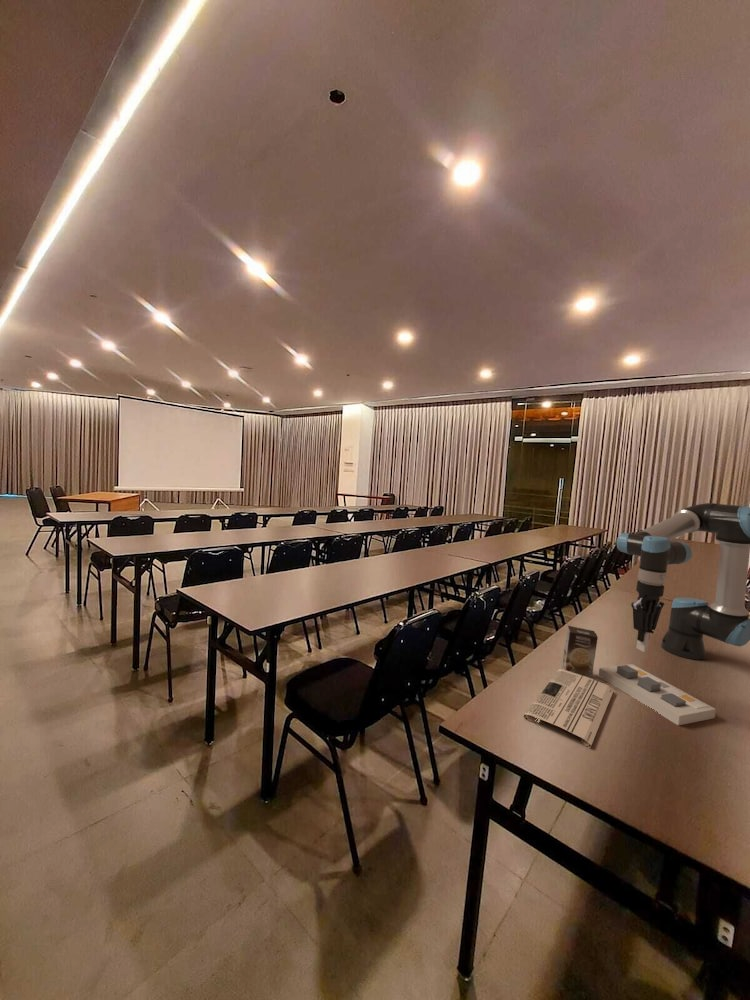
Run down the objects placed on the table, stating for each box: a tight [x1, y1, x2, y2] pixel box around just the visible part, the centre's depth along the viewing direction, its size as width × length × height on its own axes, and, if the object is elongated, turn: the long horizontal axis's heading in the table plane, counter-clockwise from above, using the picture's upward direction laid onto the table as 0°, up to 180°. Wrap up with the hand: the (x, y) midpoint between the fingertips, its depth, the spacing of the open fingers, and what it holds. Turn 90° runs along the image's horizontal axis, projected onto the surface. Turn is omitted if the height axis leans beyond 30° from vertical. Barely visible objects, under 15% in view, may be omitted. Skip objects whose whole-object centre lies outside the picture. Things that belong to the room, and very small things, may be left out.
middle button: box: [638, 677, 661, 693], centre depth 133 cm, size 4×4×3 cm
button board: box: [598, 663, 717, 726], centre depth 134 cm, size 16×28×3 cm, turn 19°
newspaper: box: [522, 668, 615, 749], centre depth 125 cm, size 37×19×3 cm, turn 141°
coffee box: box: [561, 625, 599, 679], centre depth 145 cm, size 9×6×16 cm
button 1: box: [616, 664, 638, 679], centre depth 141 cm, size 4×4×3 cm
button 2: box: [661, 693, 686, 707], centre depth 126 cm, size 4×4×3 cm
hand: (641, 649), depth 137 cm, fingers closed
